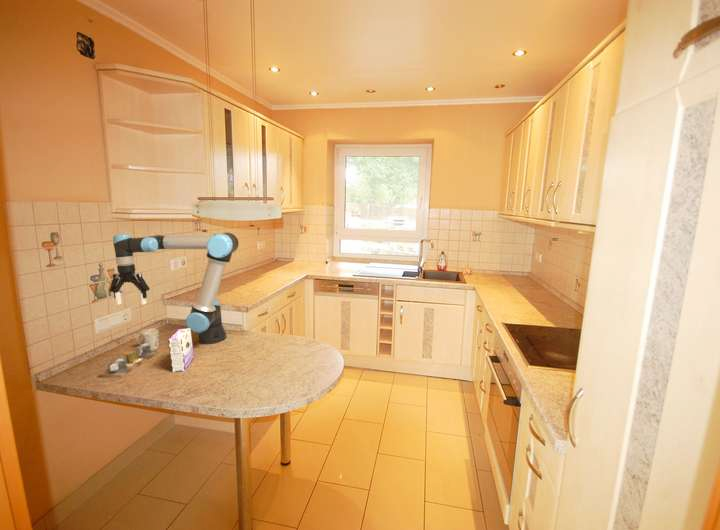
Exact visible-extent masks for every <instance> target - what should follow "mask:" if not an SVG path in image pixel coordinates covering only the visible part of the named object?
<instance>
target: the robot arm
mask: <svg viewBox="0 0 720 530" xmlns="http://www.w3.org/2000/svg"><path fill="white" fill-rule="evenodd" d="M112 242H113V243H112V244H113V247H114V253H115V263H116V265H117V266H116V268H117V273H114V274H112V280H111V284H110V286H109V293H110V292H111V293H113V298H114V299H115V303H116V306H119V305H122V304H123V303H122V302H123V301H122V296H121V295H122V294H121V291H120V290H121V288H122V287H123V286H124V284H125V283H131V284H133V285H134V287H136V288H137V289H138V291H140V292H139V296H140V304H141V305H142V306H143V305H146V304H147V297H148V296H147V292H149V291H150V287H149V285H148V284H147V282H146V280H145V279H144V278H143V273H142V272H138V273H136V266H135V257H134V253H153V252H154V253H155V252H156V251H158V250H206V251H207V252H206V253H207V254H206V258H207V259H208V260H207V264H206V268H205V270H204V274H203V275H204V276H203V279H202V282H201V286H200V289H199V293H198V297H197V299H196V301H195V302H194V303H192V306H191V309H190V313H188V315H187V316H186V318H185V326H186V328H187V329H188V328H190V329H191V333H196V334H198V339H197V340H198V343H200V344H202V345H211V344H216V342H217V343H220V342H222V341H221V340H223V339H224V340H225V338H226V339H227V332H226V330H225V328H224V325H223V320H222V309H221V303H220V301H219V299H218V300H217V296H218V293H219V292H218V291H219V289H220V284H221V281H222V278H223V276H224V275H223V274H224V272H225V269H226V265H227V264H229V263H230V261H231V259H232V256H233V255H232V254H233V253H235V252H236V251H237V249H238V247H239V239H238V238H237V236H236V235H235V234H234V233H231V232H222V233H213V235H162V234H156V235H151V236H144V237H132V236H131V234H129V233H124V234H123V233H121V234H119V233H118V234H114V235H113V236H112ZM224 340H223V341H224ZM219 341H220V342H219Z"/></svg>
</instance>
